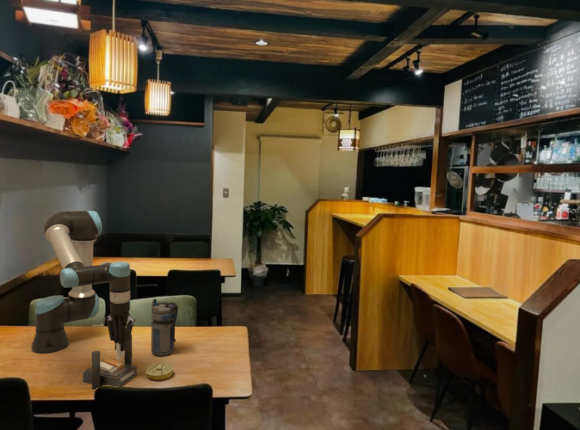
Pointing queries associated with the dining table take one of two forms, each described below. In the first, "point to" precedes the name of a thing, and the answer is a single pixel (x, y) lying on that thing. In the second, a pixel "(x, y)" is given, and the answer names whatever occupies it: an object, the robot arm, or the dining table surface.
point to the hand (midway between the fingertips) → (120, 358)
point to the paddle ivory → (107, 367)
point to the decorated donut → (159, 371)
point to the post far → (128, 352)
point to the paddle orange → (113, 363)
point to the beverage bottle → (163, 327)
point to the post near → (95, 369)
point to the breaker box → (112, 375)
